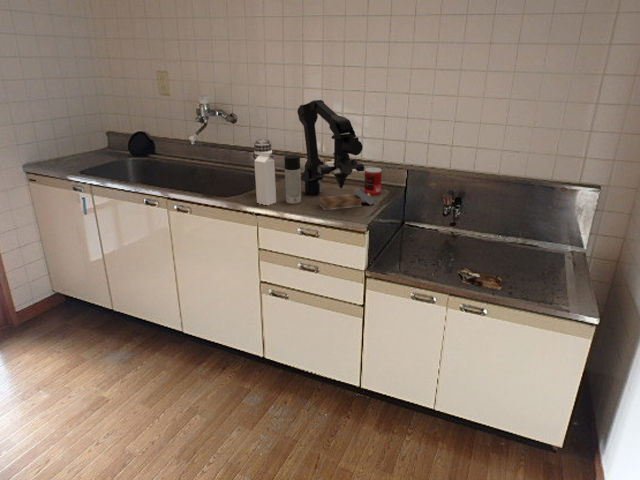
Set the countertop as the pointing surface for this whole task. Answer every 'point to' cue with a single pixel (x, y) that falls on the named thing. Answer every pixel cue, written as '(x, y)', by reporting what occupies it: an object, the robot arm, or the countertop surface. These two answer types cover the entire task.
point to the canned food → (372, 181)
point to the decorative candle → (262, 148)
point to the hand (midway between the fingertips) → (340, 188)
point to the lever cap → (364, 196)
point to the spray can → (292, 179)
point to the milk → (265, 179)
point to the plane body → (340, 201)
